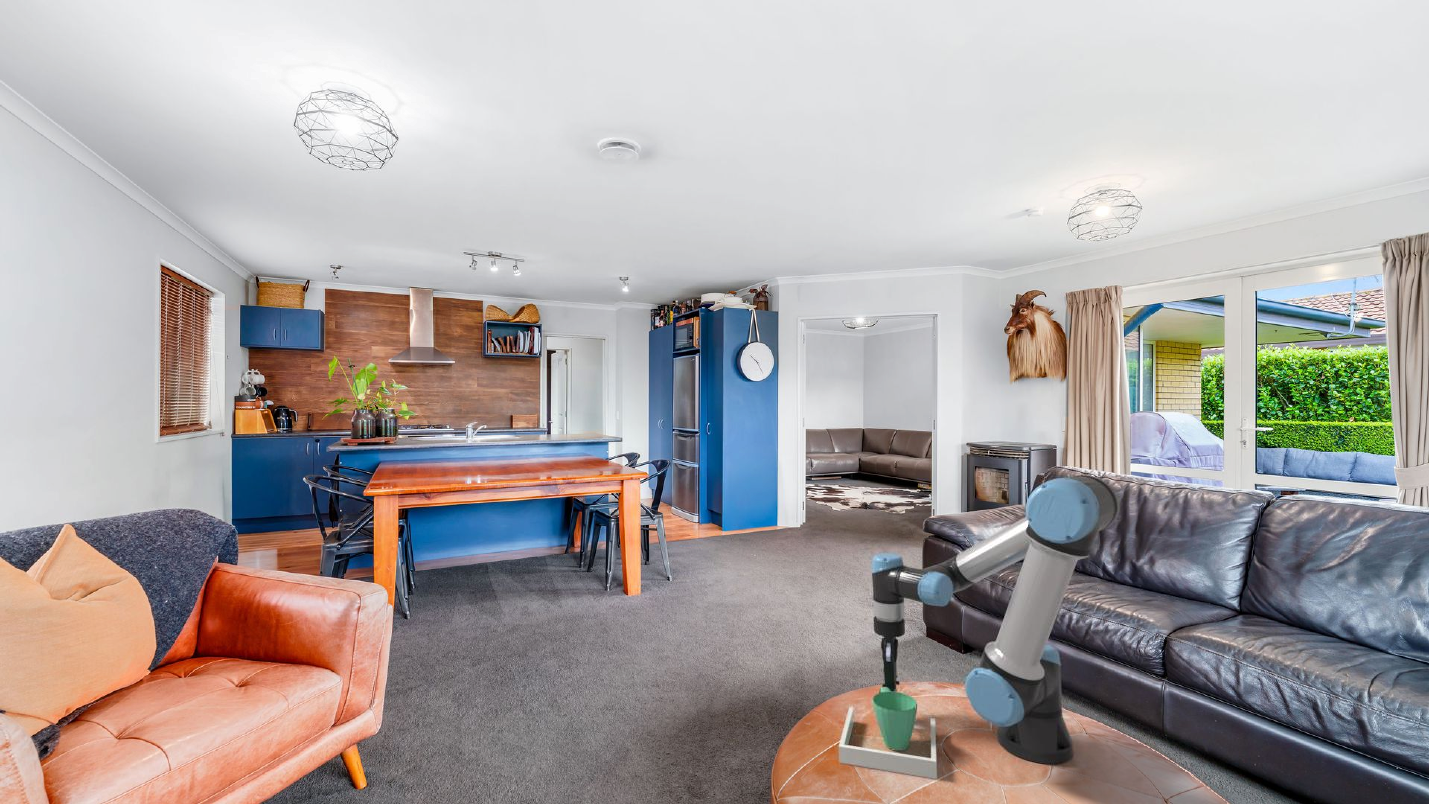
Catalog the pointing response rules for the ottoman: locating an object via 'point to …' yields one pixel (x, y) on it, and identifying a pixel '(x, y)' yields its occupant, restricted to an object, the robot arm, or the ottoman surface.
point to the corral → (886, 755)
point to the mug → (895, 717)
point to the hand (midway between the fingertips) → (891, 712)
